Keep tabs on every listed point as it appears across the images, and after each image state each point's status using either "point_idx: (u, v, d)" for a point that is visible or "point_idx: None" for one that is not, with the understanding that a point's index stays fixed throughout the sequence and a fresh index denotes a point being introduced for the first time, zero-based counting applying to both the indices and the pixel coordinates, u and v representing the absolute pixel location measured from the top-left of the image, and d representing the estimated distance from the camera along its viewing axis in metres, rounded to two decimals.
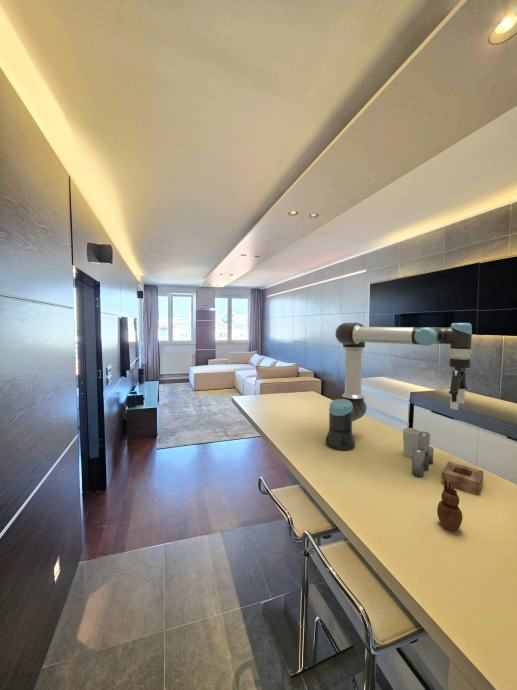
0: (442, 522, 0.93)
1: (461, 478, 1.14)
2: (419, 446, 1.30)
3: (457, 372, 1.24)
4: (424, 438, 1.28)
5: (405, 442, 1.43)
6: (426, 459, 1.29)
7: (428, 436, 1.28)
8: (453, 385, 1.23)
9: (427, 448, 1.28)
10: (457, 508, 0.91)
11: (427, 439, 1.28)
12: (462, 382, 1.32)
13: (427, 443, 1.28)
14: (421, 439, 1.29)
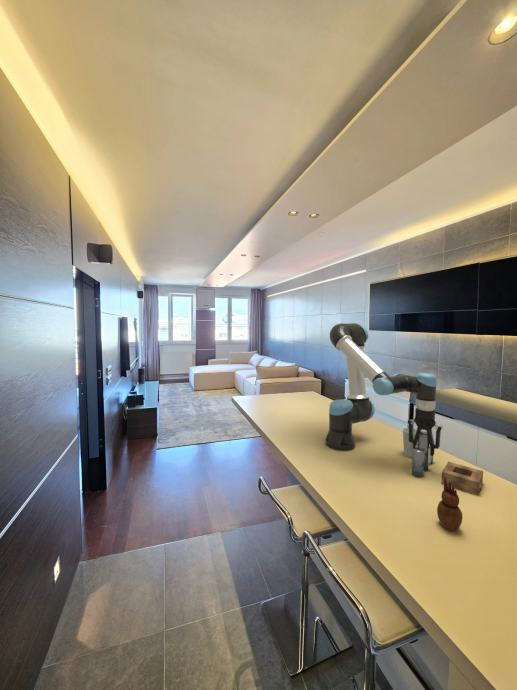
0: (442, 522, 0.93)
1: (461, 478, 1.14)
2: (419, 446, 1.30)
3: None
4: (424, 438, 1.28)
5: (405, 442, 1.43)
6: (426, 459, 1.29)
7: None
8: None
9: (427, 448, 1.28)
10: (457, 508, 0.91)
11: (427, 439, 1.28)
12: None
13: (427, 443, 1.28)
14: (421, 439, 1.29)
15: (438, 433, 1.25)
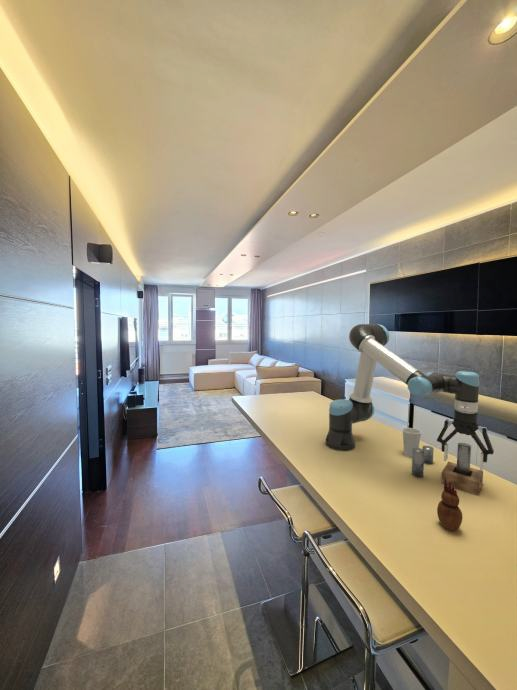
0: (442, 522, 0.93)
1: (461, 478, 1.14)
2: (459, 459, 1.17)
3: None
4: (465, 450, 1.16)
5: (405, 442, 1.43)
6: (467, 474, 1.16)
7: (469, 448, 1.15)
8: (440, 433, 1.23)
9: (468, 461, 1.16)
10: (457, 508, 0.91)
11: (468, 452, 1.15)
12: None
13: (468, 456, 1.16)
14: (462, 451, 1.16)
15: (485, 436, 1.12)
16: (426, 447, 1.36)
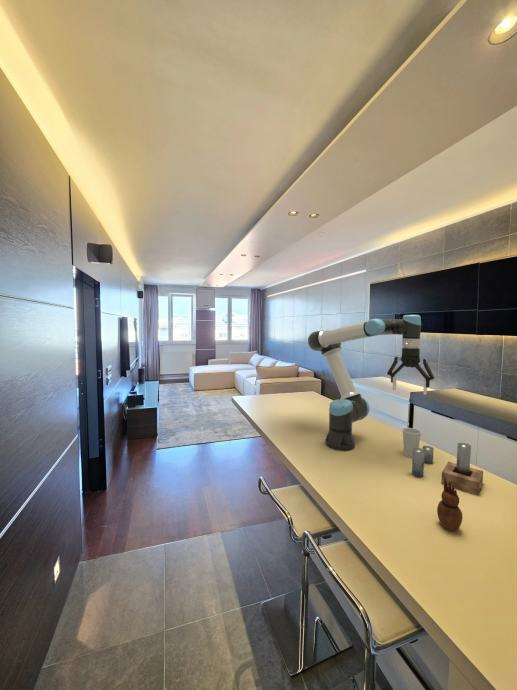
0: (442, 522, 0.93)
1: (461, 478, 1.14)
2: (459, 459, 1.17)
3: None
4: (464, 450, 1.16)
5: (405, 442, 1.43)
6: (467, 474, 1.16)
7: (469, 448, 1.15)
8: None
9: (468, 461, 1.16)
10: (457, 508, 0.91)
11: (468, 452, 1.15)
12: None
13: (468, 456, 1.16)
14: (462, 451, 1.16)
15: (426, 365, 1.34)
16: (426, 447, 1.36)
